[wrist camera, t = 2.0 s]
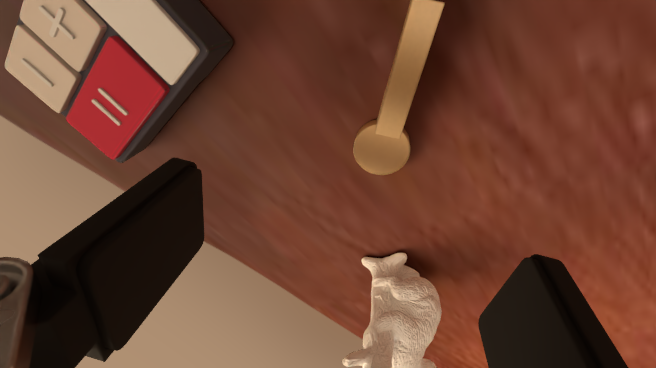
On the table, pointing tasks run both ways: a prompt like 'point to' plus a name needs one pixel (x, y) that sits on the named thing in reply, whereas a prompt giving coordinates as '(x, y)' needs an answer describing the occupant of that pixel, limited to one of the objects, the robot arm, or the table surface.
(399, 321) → the white squirrel figurine
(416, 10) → the wooden spoon
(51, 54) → the calculator
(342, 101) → the table surface
